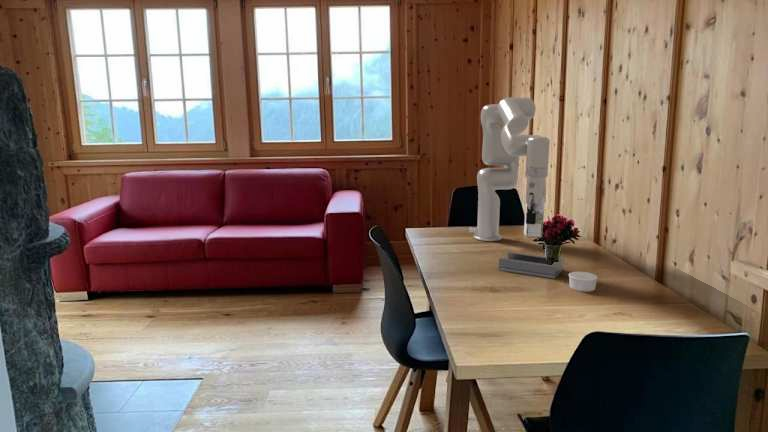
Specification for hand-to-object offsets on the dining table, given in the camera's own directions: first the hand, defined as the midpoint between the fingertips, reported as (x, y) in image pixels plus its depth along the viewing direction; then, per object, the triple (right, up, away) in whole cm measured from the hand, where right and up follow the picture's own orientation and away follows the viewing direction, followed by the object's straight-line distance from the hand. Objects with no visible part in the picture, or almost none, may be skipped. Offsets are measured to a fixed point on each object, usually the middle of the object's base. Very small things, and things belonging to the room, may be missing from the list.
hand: (533, 221), depth 194 cm
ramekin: (+11, -22, -16) cm, 29 cm away
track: (0, -17, +4) cm, 18 cm away
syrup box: (0, -5, +1) cm, 6 cm away
